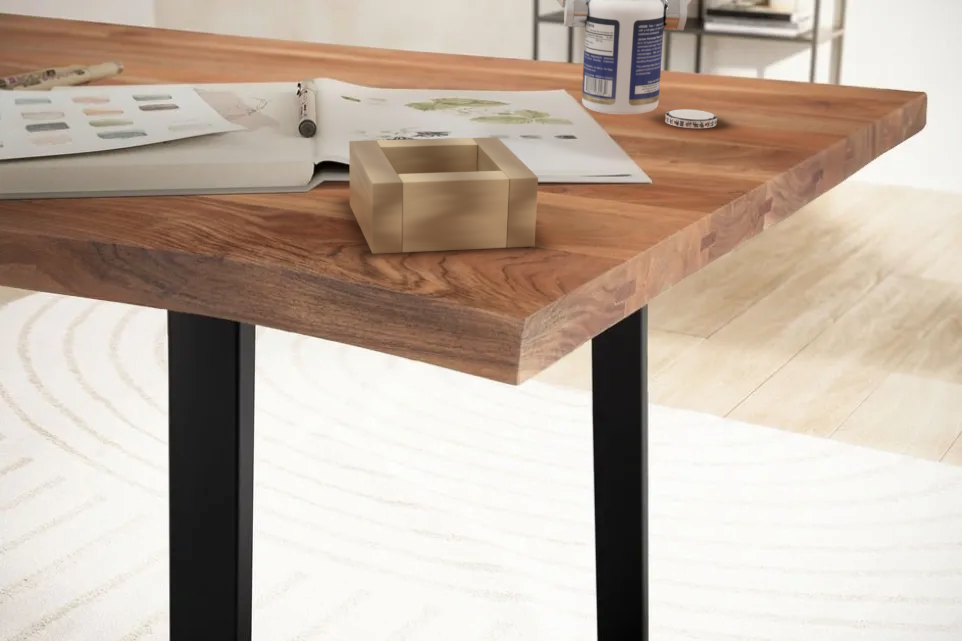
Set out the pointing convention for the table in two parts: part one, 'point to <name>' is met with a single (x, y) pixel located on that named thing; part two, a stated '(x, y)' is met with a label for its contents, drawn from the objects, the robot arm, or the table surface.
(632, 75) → the pill bottle
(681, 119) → the washi tape
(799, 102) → the table surface
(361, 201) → the holder
